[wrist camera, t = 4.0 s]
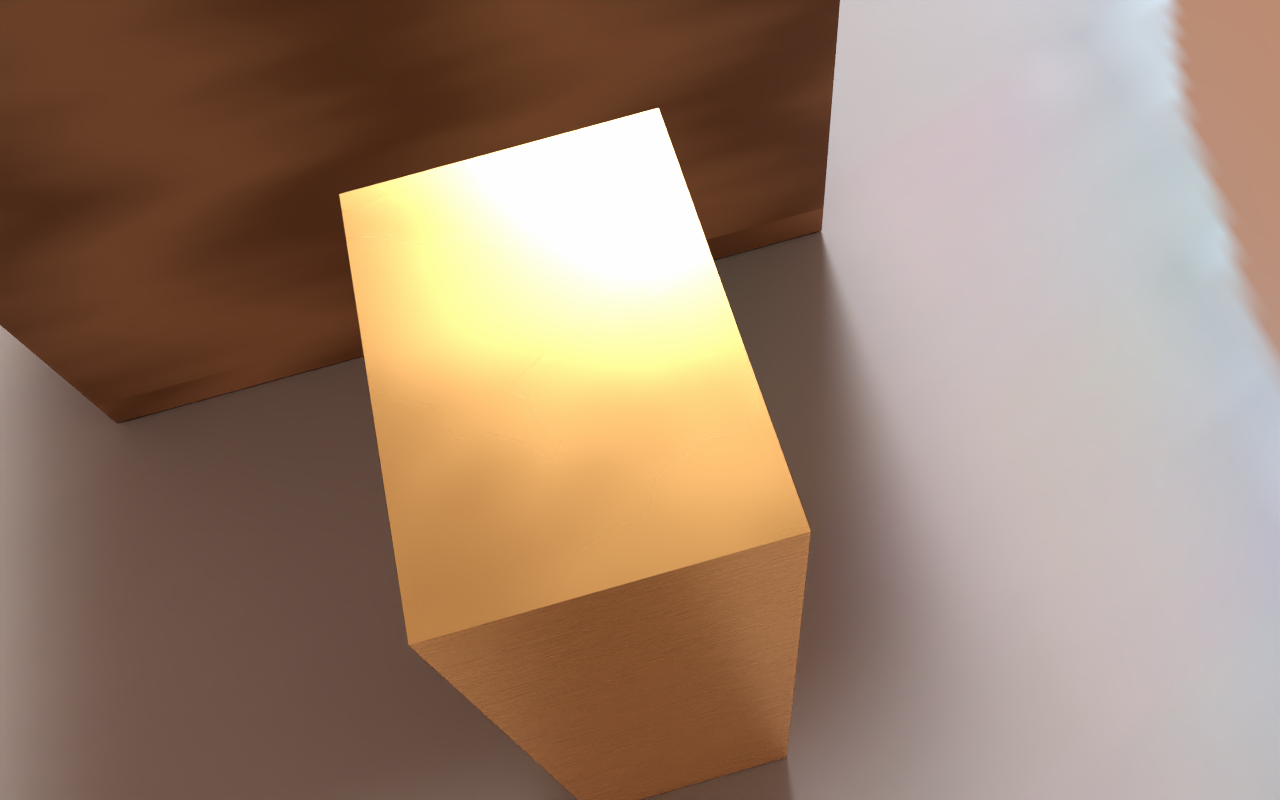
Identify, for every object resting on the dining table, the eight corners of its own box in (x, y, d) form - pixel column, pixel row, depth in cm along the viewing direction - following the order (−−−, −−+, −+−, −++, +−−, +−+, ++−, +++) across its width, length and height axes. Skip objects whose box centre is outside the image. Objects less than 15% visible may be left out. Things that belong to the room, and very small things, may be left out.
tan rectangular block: (592, 813, 19) (408, 645, 9) (535, 551, 21) (338, 194, 11) (786, 757, 19) (810, 530, 9) (706, 502, 21) (658, 109, 11)
